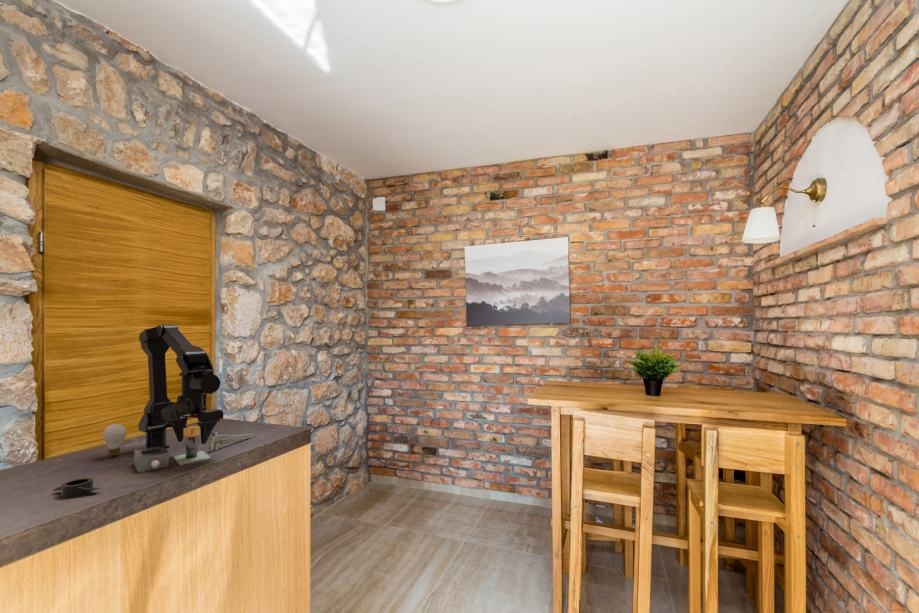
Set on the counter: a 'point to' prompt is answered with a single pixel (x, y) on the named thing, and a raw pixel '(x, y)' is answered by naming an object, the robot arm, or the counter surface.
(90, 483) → the dark flanged ring
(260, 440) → the counter surface
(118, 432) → the light bulb
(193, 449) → the orange capped vial
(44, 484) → the counter surface
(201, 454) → the rubber mat
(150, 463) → the block
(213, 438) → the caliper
